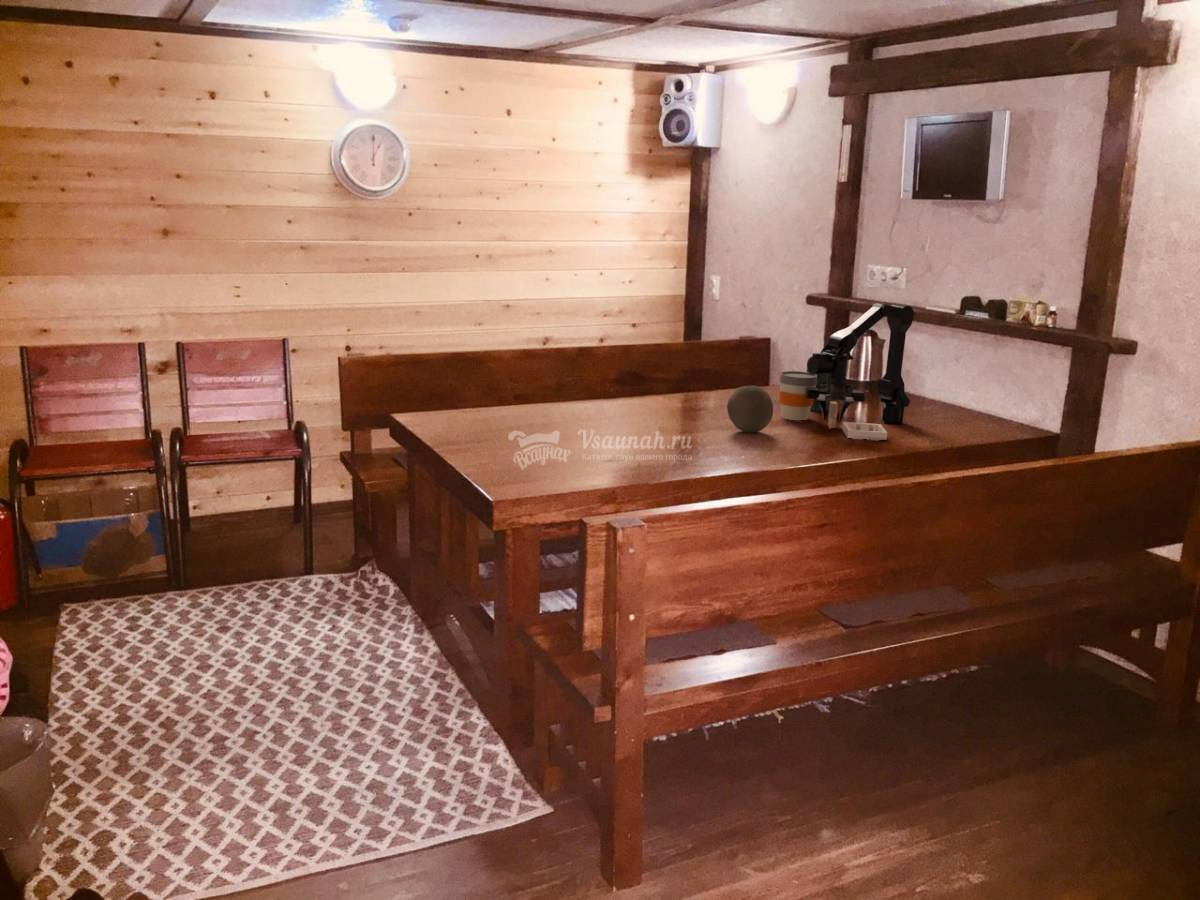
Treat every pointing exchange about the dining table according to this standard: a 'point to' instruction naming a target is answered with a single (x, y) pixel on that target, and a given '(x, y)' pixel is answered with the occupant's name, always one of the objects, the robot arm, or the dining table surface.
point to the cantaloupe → (750, 408)
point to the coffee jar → (822, 387)
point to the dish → (864, 431)
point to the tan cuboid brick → (832, 414)
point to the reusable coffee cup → (795, 394)
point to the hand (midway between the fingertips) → (832, 420)
